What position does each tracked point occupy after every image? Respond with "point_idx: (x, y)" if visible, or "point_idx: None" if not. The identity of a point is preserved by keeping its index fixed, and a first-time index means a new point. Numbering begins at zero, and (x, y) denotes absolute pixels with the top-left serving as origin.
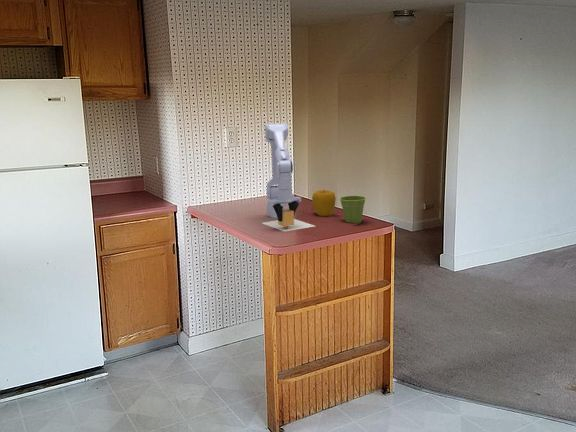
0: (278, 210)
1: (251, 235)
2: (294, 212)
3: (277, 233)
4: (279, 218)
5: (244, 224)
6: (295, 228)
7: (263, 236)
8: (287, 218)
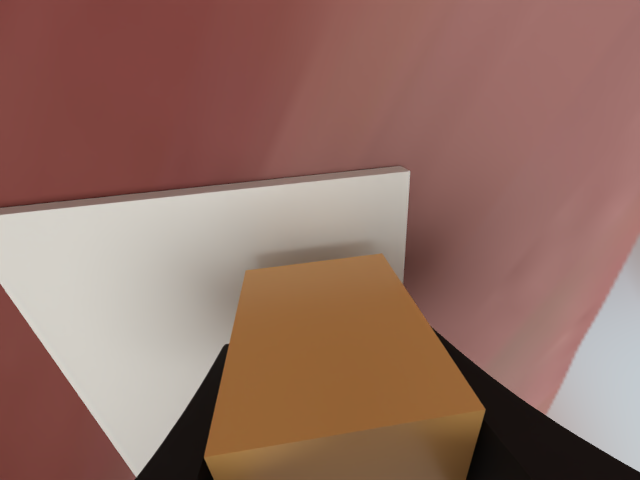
0: (634, 477)
1: (615, 257)
2: (182, 439)
3: (435, 216)
4: None
5: None
6: (242, 233)
7: (588, 180)
8: (352, 319)
